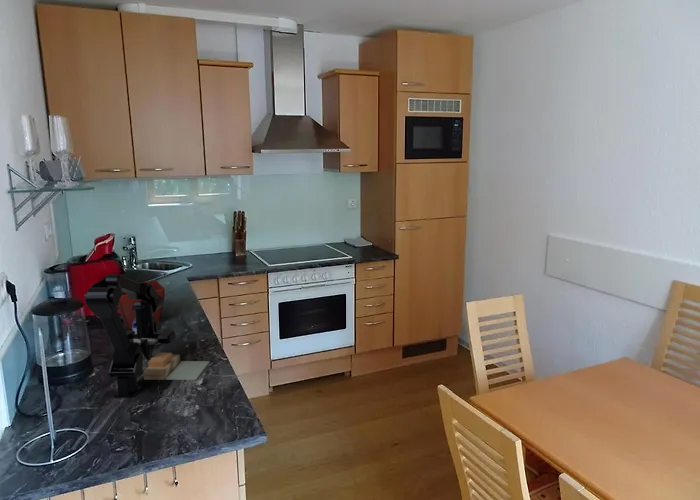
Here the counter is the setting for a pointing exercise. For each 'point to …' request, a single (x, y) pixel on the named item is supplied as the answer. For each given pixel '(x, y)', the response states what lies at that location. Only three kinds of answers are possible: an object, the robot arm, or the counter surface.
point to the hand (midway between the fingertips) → (148, 359)
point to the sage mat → (188, 370)
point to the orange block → (160, 360)
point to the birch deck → (162, 369)
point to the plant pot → (127, 302)
